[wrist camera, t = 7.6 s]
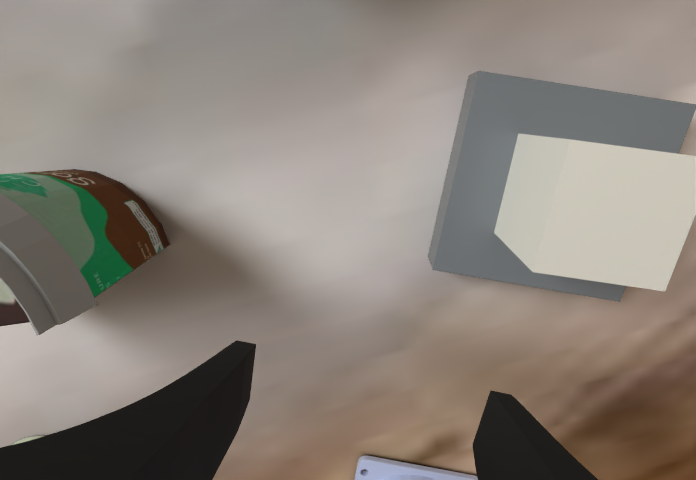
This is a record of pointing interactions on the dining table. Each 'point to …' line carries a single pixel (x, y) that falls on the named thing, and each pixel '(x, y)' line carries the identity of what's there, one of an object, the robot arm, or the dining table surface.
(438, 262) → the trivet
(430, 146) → the dining table surface
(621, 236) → the block
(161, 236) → the food container
